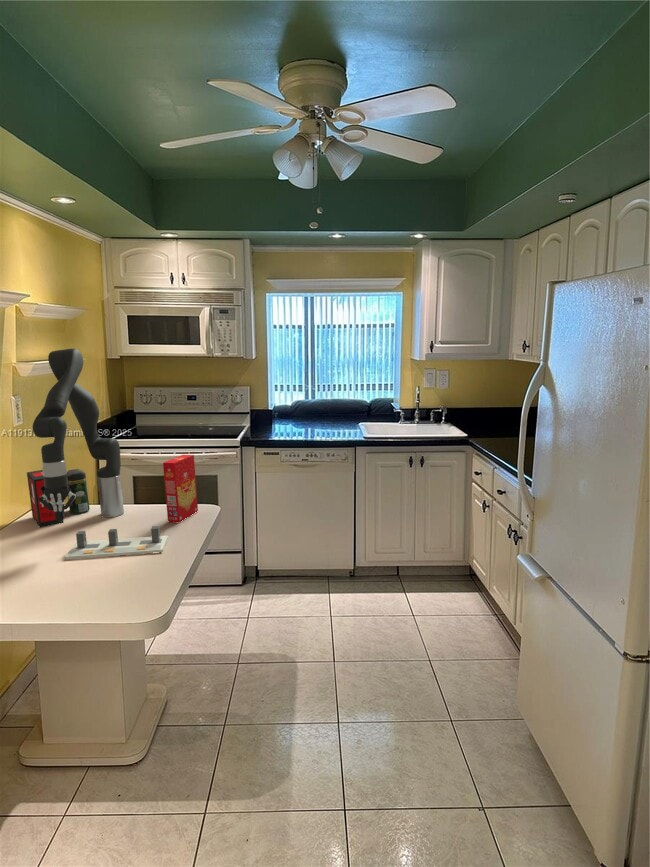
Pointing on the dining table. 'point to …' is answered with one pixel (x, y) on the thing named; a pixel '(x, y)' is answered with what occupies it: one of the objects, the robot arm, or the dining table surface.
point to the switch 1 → (81, 539)
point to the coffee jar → (78, 491)
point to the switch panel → (117, 548)
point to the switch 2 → (155, 533)
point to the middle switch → (113, 536)
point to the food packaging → (180, 487)
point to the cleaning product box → (38, 509)
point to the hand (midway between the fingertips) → (60, 520)
